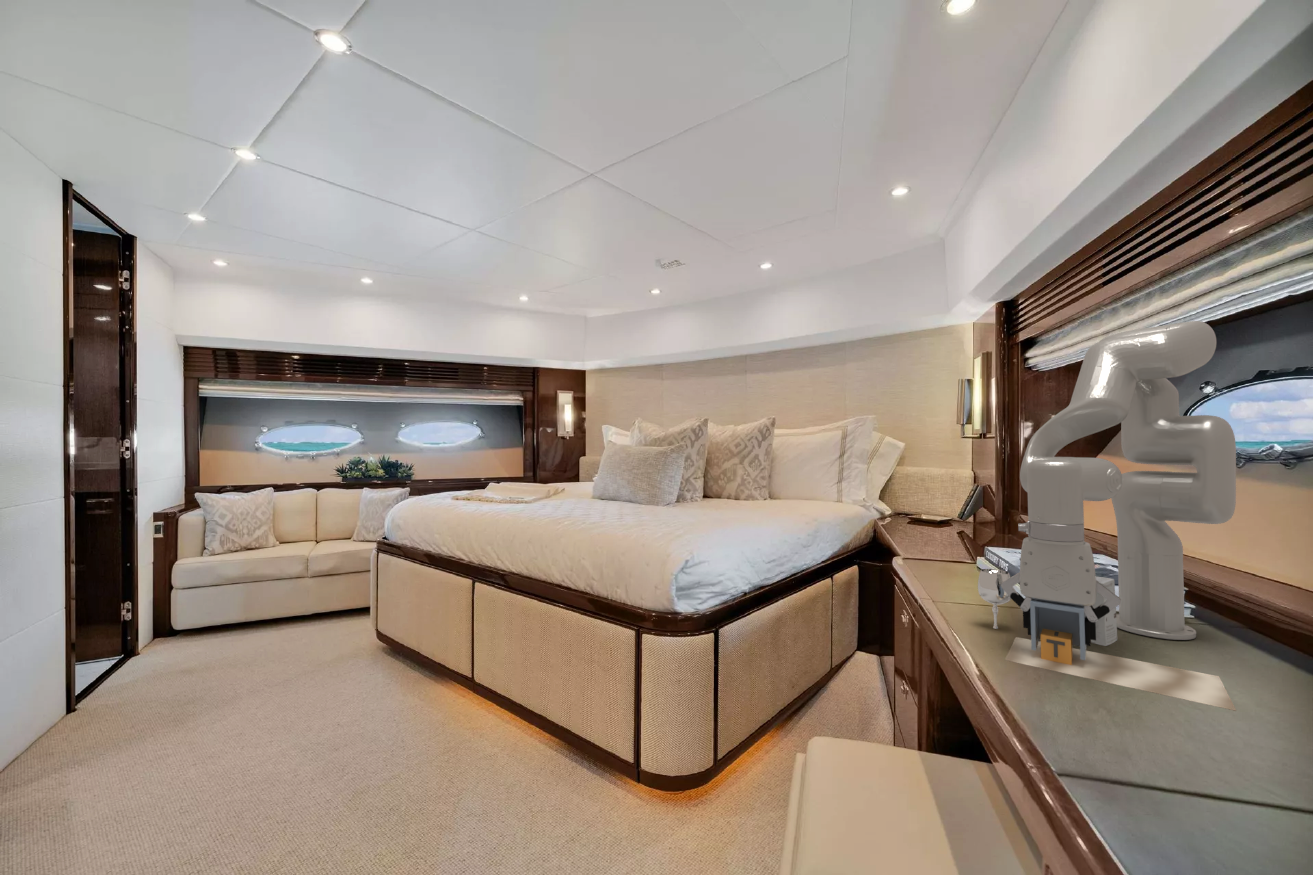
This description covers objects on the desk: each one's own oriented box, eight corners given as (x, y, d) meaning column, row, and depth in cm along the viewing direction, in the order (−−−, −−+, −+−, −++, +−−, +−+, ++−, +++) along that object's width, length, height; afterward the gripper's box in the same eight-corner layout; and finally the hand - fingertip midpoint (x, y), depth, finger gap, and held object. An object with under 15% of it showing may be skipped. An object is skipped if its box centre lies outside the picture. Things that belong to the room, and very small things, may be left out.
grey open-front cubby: (1035, 637, 93) (1034, 592, 93) (1086, 646, 89) (1084, 599, 89) (1031, 649, 88) (1030, 602, 88) (1085, 660, 83) (1083, 610, 83)
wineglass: (971, 630, 104) (970, 569, 104) (990, 626, 106) (990, 567, 107) (1000, 639, 99) (999, 576, 99) (1020, 635, 101) (1019, 573, 101)
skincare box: (1106, 652, 93) (1105, 583, 93) (1076, 644, 97) (1074, 578, 97) (1118, 645, 96) (1117, 578, 97) (1088, 637, 100) (1087, 574, 100)
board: (1005, 666, 87) (1005, 659, 87) (1015, 642, 97) (1015, 637, 98) (1236, 718, 70) (1236, 710, 70) (1219, 682, 81) (1218, 676, 81)
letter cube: (1043, 651, 90) (1042, 628, 91) (1072, 657, 88) (1072, 633, 88) (1040, 658, 87) (1040, 634, 87) (1071, 665, 85) (1071, 640, 85)
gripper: (991, 531, 91) (994, 633, 91) (1125, 541, 80) (1128, 658, 80) (998, 525, 97) (1001, 621, 97) (1123, 534, 86) (1127, 643, 85)
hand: (1058, 637), depth 88 cm, fingers closed on grey open-front cubby, 7 cm apart
